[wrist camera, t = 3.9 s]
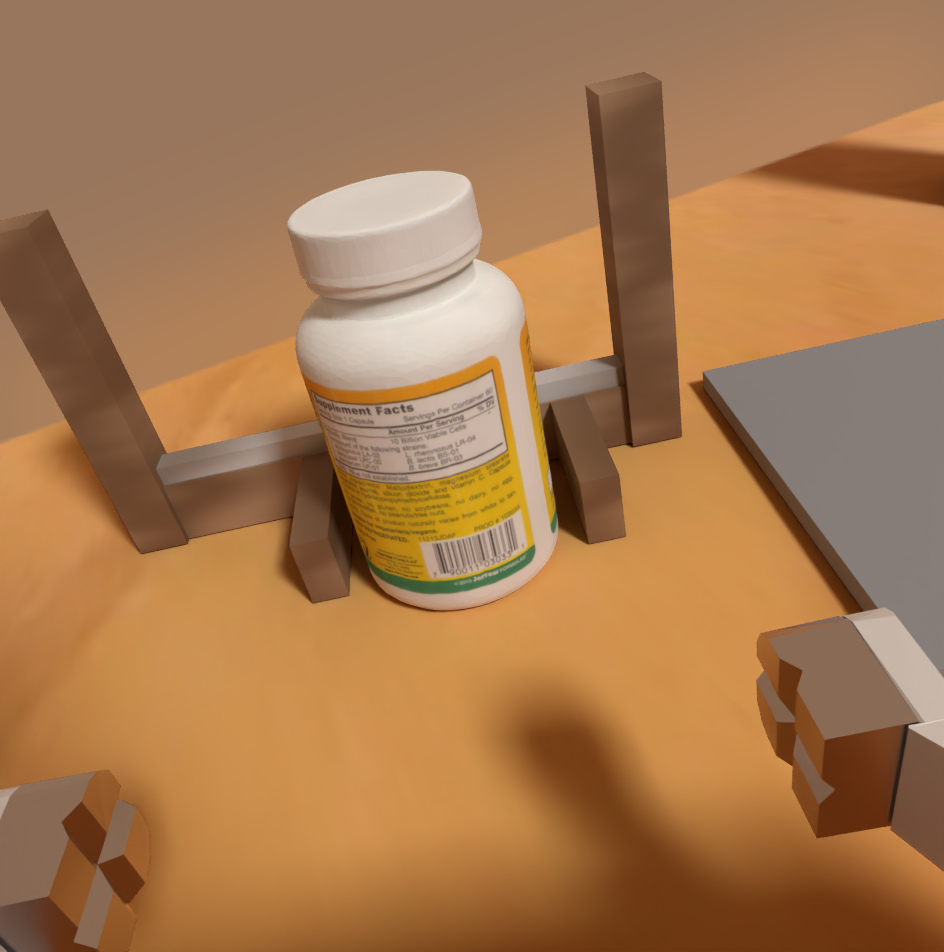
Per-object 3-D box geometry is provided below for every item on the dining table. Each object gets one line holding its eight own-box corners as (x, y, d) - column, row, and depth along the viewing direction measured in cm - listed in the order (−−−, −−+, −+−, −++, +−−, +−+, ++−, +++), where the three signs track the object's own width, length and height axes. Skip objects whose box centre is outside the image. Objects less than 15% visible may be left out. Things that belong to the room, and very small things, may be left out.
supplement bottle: (495, 643, 19) (397, 254, 14) (330, 585, 22) (198, 245, 17) (596, 509, 23) (549, 155, 17) (442, 474, 26) (360, 161, 20)
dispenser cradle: (104, 647, 22) (-117, 303, 16) (152, 524, 26) (-9, 222, 21) (729, 514, 21) (720, 112, 16) (667, 412, 26) (644, 72, 20)
